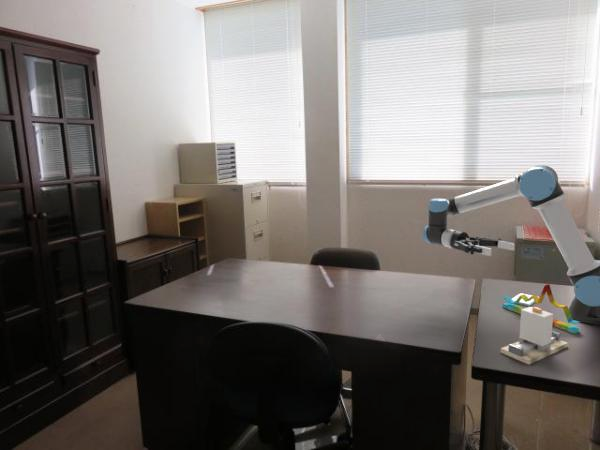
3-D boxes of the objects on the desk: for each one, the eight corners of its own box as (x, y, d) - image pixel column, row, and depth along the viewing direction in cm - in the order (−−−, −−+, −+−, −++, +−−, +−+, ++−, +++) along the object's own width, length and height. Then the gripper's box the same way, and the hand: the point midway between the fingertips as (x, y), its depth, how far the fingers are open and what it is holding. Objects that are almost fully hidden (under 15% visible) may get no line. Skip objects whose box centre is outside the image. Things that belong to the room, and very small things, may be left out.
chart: (502, 308, 191) (504, 273, 188) (507, 306, 192) (509, 272, 190) (573, 334, 164) (576, 295, 162) (578, 332, 166) (582, 293, 163)
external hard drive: (509, 303, 197) (520, 296, 205) (529, 307, 191) (539, 300, 200) (509, 299, 197) (520, 292, 205) (529, 304, 191) (539, 296, 199)
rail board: (539, 336, 163) (539, 332, 162) (567, 346, 154) (567, 342, 154) (500, 352, 151) (500, 348, 151) (528, 364, 143) (529, 360, 143)
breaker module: (527, 339, 157) (530, 303, 155) (550, 348, 150) (553, 310, 148) (518, 343, 155) (521, 306, 152) (541, 351, 148) (544, 313, 145)
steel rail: (547, 335, 160) (547, 329, 159) (559, 339, 156) (560, 333, 156) (508, 351, 149) (508, 344, 148) (520, 356, 145) (521, 349, 145)
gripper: (475, 244, 191) (522, 254, 174) (433, 253, 179) (479, 265, 161) (476, 227, 190) (523, 235, 172) (434, 234, 177) (480, 244, 160)
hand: (502, 249), depth 166 cm, fingers open, 13 cm apart
